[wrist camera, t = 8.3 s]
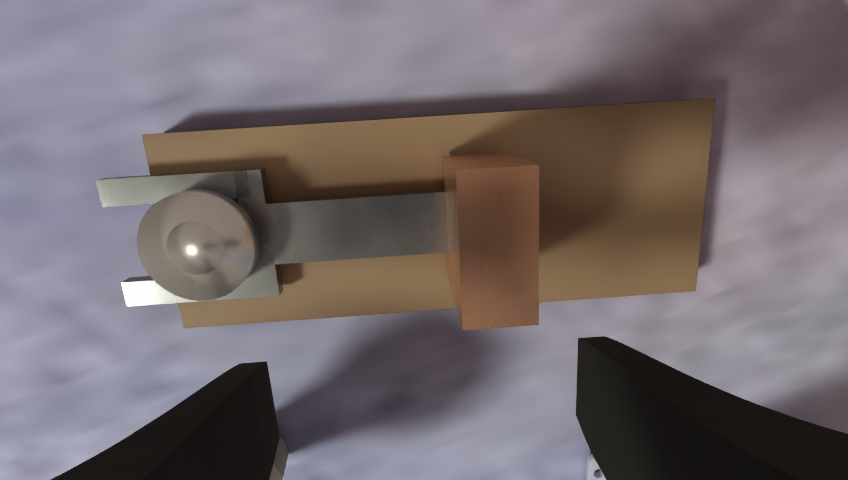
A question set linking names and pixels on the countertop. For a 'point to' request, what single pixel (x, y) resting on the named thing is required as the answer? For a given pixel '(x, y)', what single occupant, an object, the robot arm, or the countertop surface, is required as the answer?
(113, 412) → the countertop surface
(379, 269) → the wooden board
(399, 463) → the countertop surface
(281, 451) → the lightbulb
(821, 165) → the countertop surface
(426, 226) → the forked latch lever
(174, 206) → the dished metal disc
